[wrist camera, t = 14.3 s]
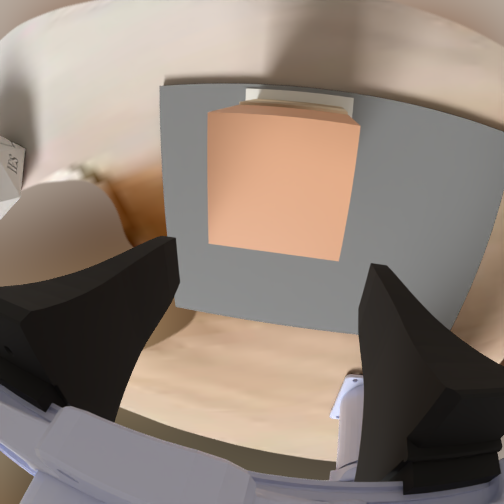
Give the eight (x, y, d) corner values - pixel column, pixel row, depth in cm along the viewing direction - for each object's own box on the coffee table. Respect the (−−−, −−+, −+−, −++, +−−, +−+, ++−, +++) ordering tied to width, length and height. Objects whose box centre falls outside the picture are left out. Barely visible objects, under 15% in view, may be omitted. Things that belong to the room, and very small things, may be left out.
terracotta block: (348, 114, 13) (360, 125, 9) (335, 214, 15) (338, 261, 12) (239, 104, 14) (207, 112, 10) (236, 202, 16) (208, 243, 12)
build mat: (511, 134, 15) (515, 136, 14) (442, 337, 24) (444, 342, 23) (163, 85, 18) (159, 86, 18) (178, 303, 28) (175, 307, 27)
